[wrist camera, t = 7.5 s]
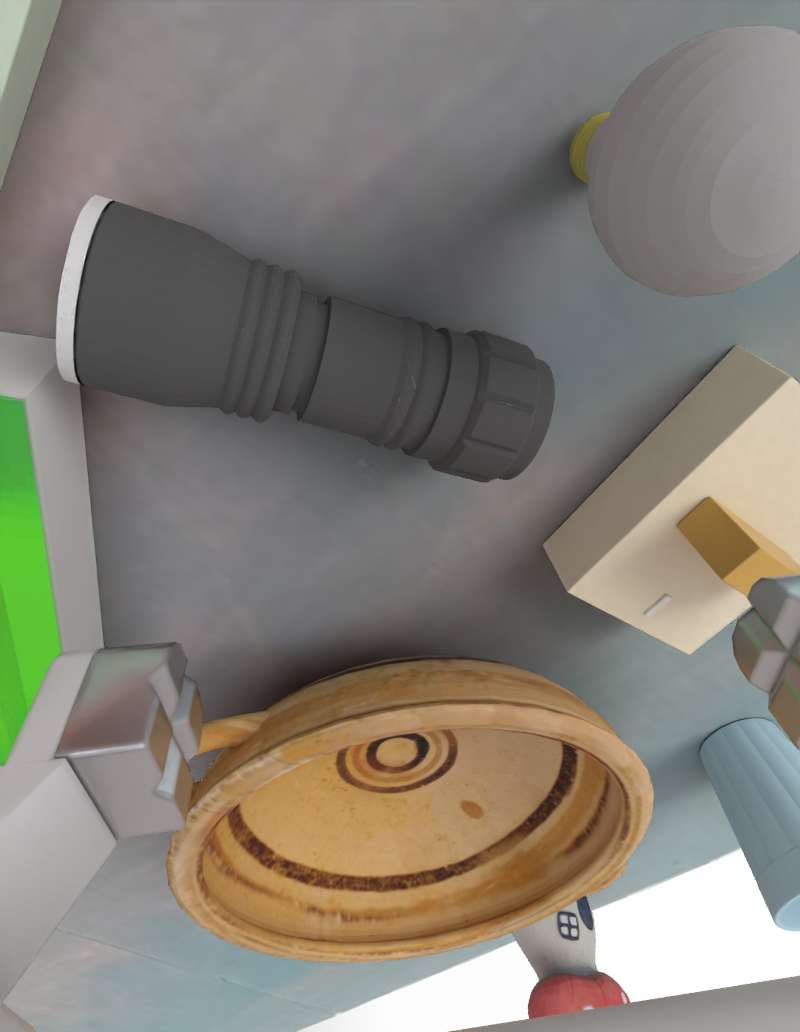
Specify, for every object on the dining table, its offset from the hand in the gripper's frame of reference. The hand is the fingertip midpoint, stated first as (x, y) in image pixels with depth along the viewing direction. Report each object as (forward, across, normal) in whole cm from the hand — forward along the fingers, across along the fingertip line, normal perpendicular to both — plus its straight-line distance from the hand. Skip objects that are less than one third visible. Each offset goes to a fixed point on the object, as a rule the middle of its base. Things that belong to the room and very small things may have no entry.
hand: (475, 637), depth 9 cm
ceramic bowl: (+17, 0, +26) cm, 31 cm away
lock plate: (+17, -15, +10) cm, 25 cm away
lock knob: (+13, -15, +10) cm, 22 cm away
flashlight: (+17, +2, +1) cm, 17 cm away
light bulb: (+17, -7, -4) cm, 19 cm away
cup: (+17, -24, +32) cm, 44 cm away
